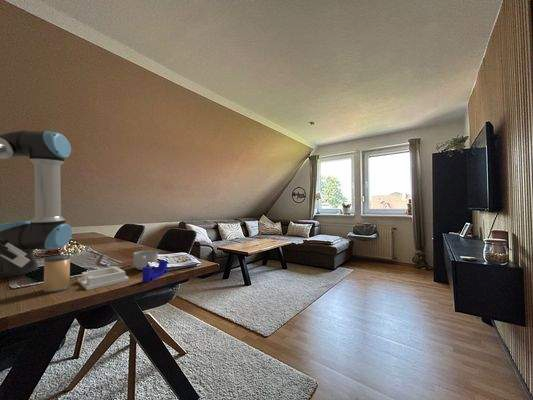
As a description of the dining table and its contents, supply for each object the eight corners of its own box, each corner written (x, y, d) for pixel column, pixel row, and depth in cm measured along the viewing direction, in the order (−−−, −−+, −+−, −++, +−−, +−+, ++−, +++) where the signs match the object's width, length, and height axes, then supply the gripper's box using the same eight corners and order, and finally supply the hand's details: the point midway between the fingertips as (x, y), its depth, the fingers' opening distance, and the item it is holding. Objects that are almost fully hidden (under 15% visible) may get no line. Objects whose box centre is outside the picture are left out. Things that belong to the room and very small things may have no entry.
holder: (77, 281, 92) (78, 272, 92) (117, 273, 102) (117, 265, 103) (86, 290, 83) (87, 280, 83) (128, 280, 94) (129, 271, 94)
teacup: (138, 265, 116) (138, 250, 116) (160, 265, 118) (160, 249, 118) (126, 274, 102) (126, 256, 102) (151, 273, 104) (152, 255, 104)
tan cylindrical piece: (42, 290, 83) (43, 257, 83) (67, 284, 88) (68, 254, 88) (44, 295, 78) (45, 260, 78) (71, 289, 84) (71, 257, 84)
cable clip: (158, 273, 104) (158, 260, 104) (167, 273, 104) (167, 260, 104) (139, 282, 93) (139, 267, 93) (148, 282, 92) (149, 268, 92)
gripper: (-59, 224, 71) (11, 263, 82) (-76, 231, 55) (13, 277, 66) (-31, 207, 75) (32, 246, 87) (-39, 209, 59) (39, 256, 70)
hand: (24, 260), depth 76 cm, fingers open, 13 cm apart
